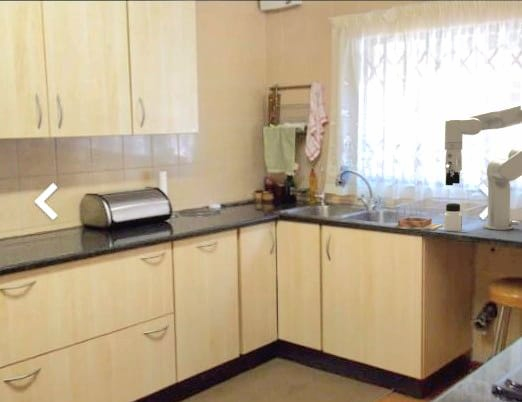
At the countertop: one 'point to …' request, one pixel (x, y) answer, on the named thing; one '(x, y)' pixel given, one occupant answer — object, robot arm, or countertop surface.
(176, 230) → the countertop surface
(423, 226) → the dock board
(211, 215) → the countertop surface
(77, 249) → the countertop surface
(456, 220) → the medicine bottle
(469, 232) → the countertop surface
